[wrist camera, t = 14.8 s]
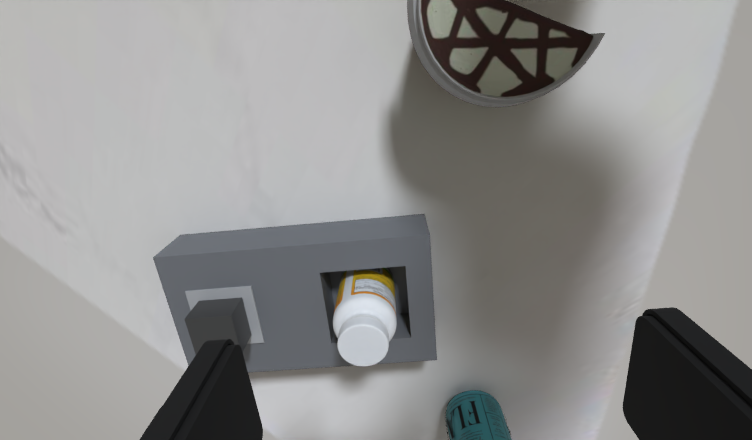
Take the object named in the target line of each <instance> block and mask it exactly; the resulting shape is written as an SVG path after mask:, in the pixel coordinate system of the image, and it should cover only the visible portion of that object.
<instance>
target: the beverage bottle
mask: <svg viewBox="0 0 752 440" xmlns="http://www.w3.org/2000/svg"><path fill="white" fill-rule="evenodd" d="M445 413H446V418H445V419H446V420H445V423H446V422H447V426H448V432H449V437H450V440H512V439H511V436H510V431H509V428H508V427H507V425H506V422H505V419H504V416H503V413H502V410H501V407H500V405H499V403H498V402H497V401H496V399H495V398H494V397H493V396H491V395H490V394H488V393H485V392H482V391H466V392H462V393H460V394H458V395H456V396H455V397H454V398H453V399H452V400H451V401H450V402H449V404H448V406H447V410H446V412H445ZM504 415H505V414H504ZM447 426H446V427H447ZM448 432H447V435H448ZM448 440H449V439H448Z"/></svg>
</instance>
